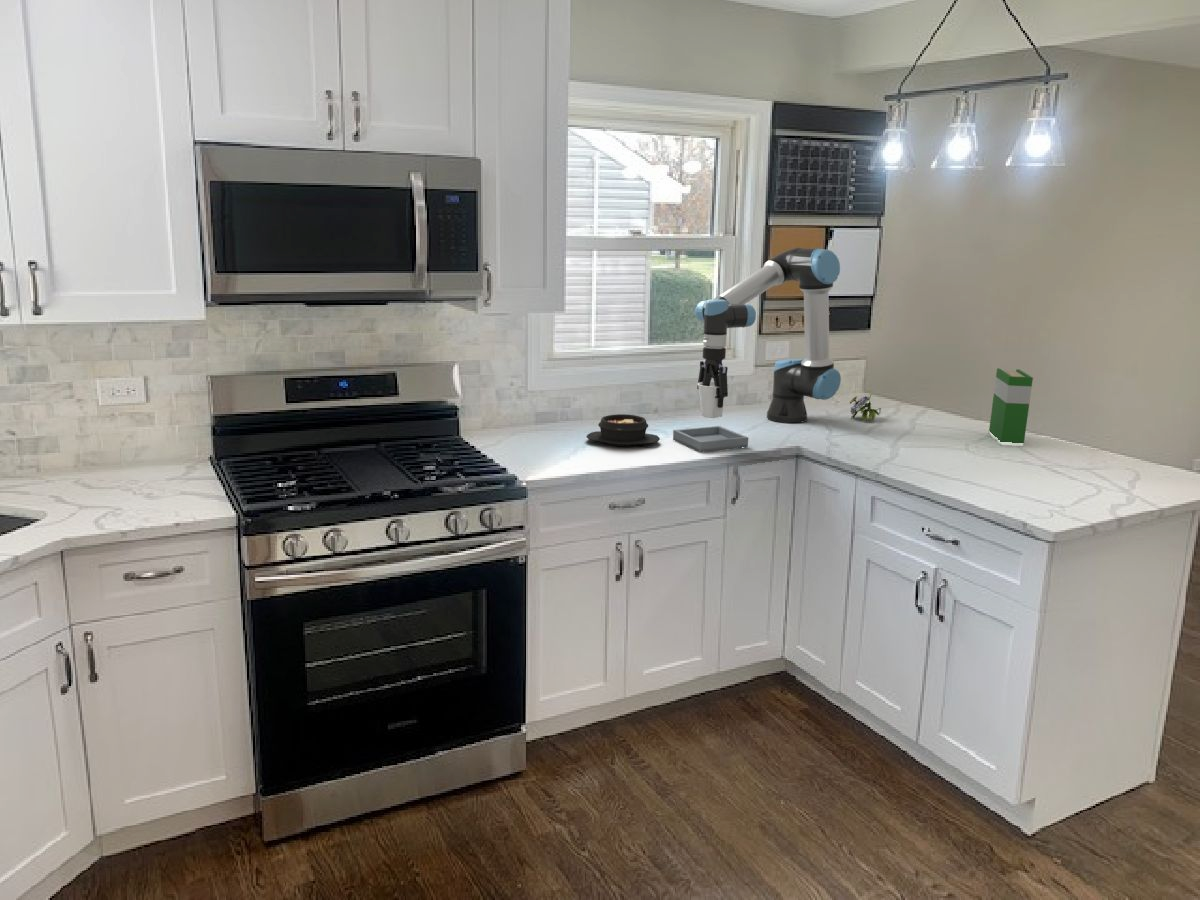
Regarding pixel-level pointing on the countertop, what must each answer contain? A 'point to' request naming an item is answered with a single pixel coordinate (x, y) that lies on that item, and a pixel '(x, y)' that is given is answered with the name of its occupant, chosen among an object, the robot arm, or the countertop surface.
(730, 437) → the tray
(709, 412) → the cup
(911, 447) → the countertop surface
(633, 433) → the casserole
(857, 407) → the passion flower
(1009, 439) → the hardback book
